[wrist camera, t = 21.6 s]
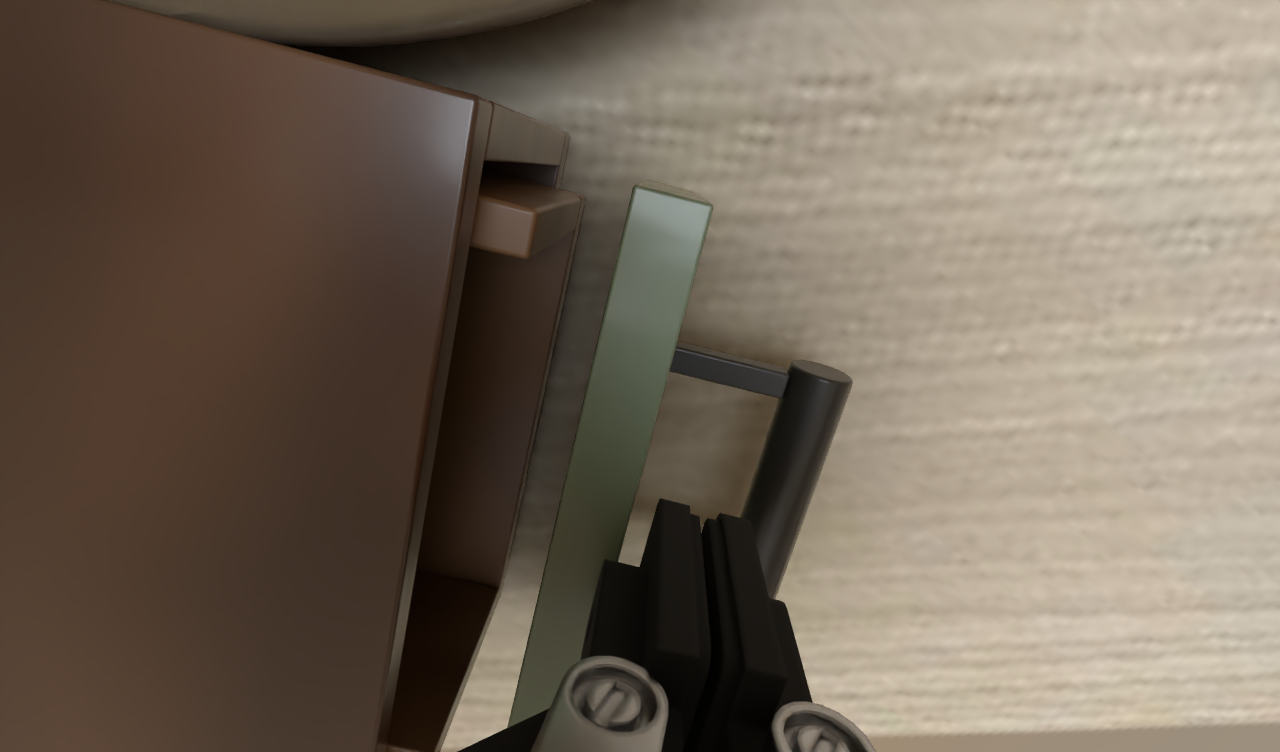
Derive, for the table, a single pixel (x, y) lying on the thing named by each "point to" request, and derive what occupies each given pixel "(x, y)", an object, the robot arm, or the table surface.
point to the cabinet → (220, 375)
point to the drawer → (604, 443)
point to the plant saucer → (355, 18)
